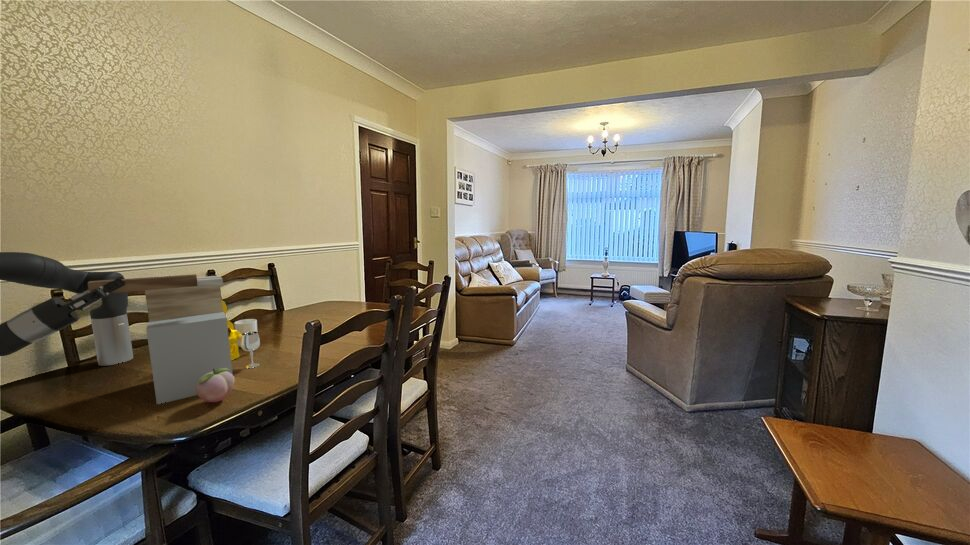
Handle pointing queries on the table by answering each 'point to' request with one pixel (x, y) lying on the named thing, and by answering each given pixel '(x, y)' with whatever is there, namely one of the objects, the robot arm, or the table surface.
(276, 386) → the table surface
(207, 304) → the oak stand
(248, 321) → the white cup
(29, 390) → the table surface
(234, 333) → the figure statuette
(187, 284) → the brown block
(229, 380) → the decorative fruit
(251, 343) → the wineglass
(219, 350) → the grey block
